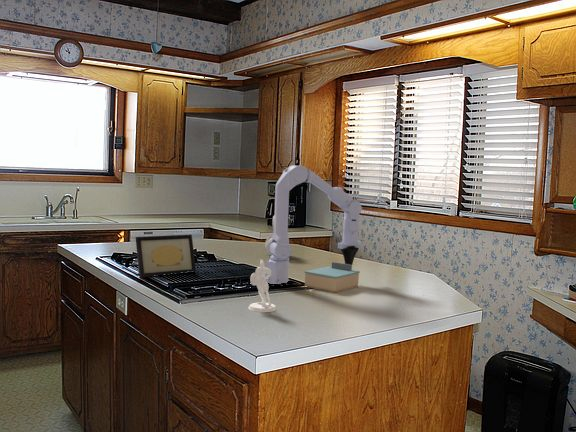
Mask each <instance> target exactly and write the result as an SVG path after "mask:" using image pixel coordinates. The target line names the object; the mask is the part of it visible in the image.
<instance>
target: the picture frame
mask: <svg viewBox="0 0 576 432" xmlns="http://www.w3.org/2000/svg"><path fill="white" fill-rule="evenodd" d="M193 243H194V242H193V235H192V234H178V235H177V234H175V235H152V236H151V235H149V236H136V237H135V245H136V255H137V257H136V258H137V264H138V265H137V266H138V267H137V268H138V277H139V279H143V278H151V277H150V276H154V275H162V274H171V273H179V272H187V271H196V272H197V268H196V260H195V251H194V244H193Z"/></svg>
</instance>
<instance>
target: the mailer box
mask: <svg viewBox="0 0 576 432" xmlns="http://www.w3.org/2000/svg"><path fill="white" fill-rule="evenodd" d="M304 274H305V277H304V287H305V286H307V287H306V288H309V289H312V290H313V289H315V290H320V291H324V292H329V293H334V294H335V293H339V292H343V291H347V290H349V289H354V288H358V287H359V278H360V277H359V275H360V273H357V274H353V275H349V276H345V277H341V278H337V279H336V278H330V277H325V276H319V275H313V274H308V273H305V272H304Z"/></svg>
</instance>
